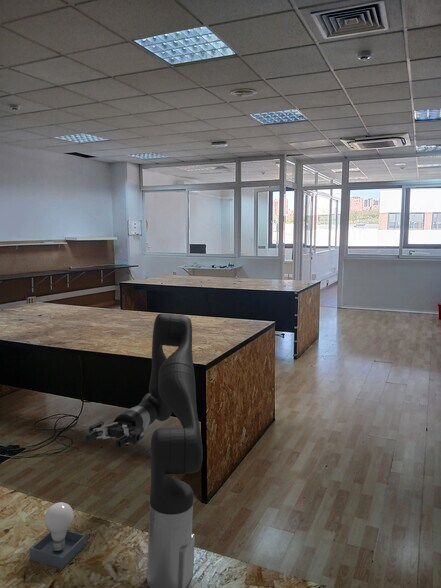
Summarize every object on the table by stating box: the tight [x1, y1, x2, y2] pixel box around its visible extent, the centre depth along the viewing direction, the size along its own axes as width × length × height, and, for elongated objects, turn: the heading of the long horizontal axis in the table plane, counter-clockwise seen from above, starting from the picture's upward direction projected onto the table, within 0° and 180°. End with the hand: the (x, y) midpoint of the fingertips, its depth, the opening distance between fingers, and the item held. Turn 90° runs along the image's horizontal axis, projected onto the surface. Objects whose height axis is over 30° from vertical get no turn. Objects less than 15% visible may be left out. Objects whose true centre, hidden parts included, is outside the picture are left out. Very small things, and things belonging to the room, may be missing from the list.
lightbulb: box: [43, 501, 75, 551], centre depth 103 cm, size 6×6×11 cm
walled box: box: [29, 529, 87, 570], centre depth 103 cm, size 9×9×3 cm
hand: (102, 442), depth 114 cm, fingers open, 8 cm apart
